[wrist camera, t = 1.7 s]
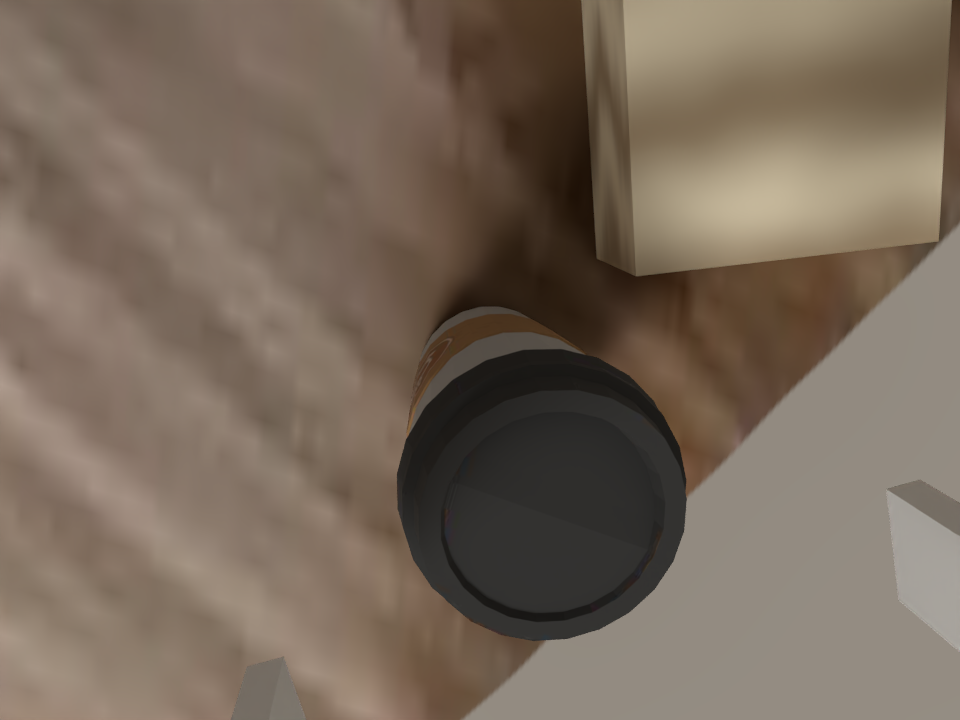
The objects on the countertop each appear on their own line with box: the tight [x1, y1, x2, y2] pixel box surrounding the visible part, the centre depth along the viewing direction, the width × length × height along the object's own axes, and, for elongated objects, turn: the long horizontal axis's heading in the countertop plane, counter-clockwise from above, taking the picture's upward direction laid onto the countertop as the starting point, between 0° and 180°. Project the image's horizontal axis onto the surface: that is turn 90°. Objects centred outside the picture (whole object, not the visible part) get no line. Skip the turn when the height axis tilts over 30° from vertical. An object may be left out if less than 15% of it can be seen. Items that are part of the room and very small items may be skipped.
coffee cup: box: [397, 307, 687, 641], centre depth 28 cm, size 8×8×15 cm
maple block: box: [581, 0, 952, 276], centre depth 30 cm, size 12×12×6 cm
